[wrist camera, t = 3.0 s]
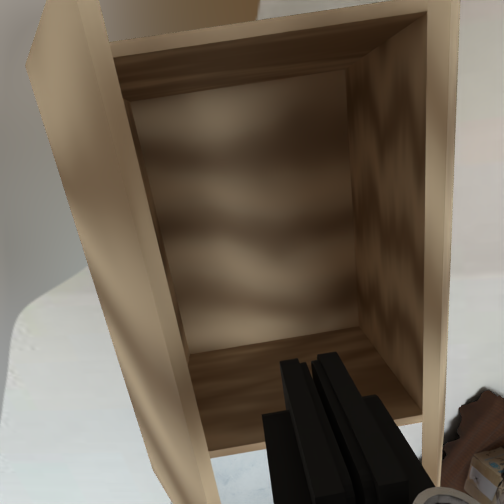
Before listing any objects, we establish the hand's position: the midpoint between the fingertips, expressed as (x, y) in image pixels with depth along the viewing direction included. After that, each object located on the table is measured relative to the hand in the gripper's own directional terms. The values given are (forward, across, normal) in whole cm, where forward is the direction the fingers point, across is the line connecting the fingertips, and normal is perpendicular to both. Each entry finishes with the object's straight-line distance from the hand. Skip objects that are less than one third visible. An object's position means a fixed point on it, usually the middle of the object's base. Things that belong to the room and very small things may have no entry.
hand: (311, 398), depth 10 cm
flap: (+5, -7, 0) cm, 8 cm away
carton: (+21, 0, -1) cm, 21 cm away
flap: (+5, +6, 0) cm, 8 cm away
